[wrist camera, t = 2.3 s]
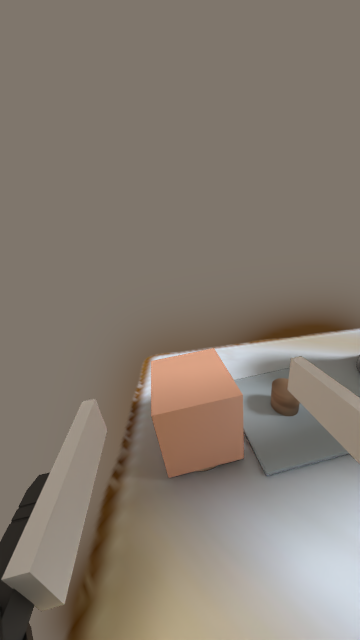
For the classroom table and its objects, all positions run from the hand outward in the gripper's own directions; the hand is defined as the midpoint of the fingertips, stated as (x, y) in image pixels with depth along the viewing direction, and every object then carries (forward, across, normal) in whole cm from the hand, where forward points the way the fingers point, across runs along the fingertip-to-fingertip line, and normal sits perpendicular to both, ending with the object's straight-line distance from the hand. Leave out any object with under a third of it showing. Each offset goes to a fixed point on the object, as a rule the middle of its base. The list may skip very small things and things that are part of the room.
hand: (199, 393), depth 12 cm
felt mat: (+11, +16, -18) cm, 26 cm away
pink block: (+10, +1, -18) cm, 20 cm away
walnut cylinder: (+11, +16, -17) cm, 26 cm away
